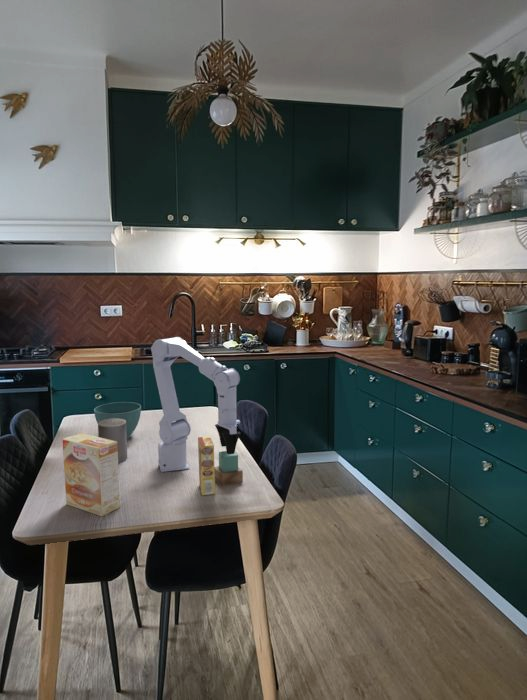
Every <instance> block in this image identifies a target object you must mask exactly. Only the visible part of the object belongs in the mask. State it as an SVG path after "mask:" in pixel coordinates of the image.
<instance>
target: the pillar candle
mask: <svg viewBox="0 0 527 700" xmlns="http://www.w3.org/2000/svg"><path fill="white" fill-rule="evenodd" d="M97 433H98V434H97V437H100V438H104V439H108V440H112V441H117V449H118V464H120V463H122V462H125V461H126V460H127V458H128V441H127V440H128V438H127V435H126V420H123V419H117V418H113V419H112V418H111V419H105V420H102V421H100V422H99V423H97Z"/></svg>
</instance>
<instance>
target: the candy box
mask: <svg viewBox="0 0 527 700" xmlns="http://www.w3.org/2000/svg"><path fill="white" fill-rule="evenodd" d="M197 449H198V451H197V452H198V453H197V455H198V477H199V479H198V481H199V487H200V493H201V495H202V496H209V495H215V494H216V480H215V469H214V467H215V445H214V443H213V440H212V437H211V436H201V437H200V436H198V438H197Z"/></svg>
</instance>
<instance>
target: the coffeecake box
mask: <svg viewBox="0 0 527 700" xmlns="http://www.w3.org/2000/svg"><path fill="white" fill-rule="evenodd" d="M61 440H62V451H63V469H64V484H65V485H64V486H65V504H66V505H67V506H70V507H73V508H76V509H79V510H82V511H84V512H88V513H91V514H92V515H96V516H99V517H104V516H105V515H107V514H109V513H111V512H113V511H116V510H117V509H120V508H121V499H120V496H121V494H120V476H119V472H120V471H119V463H118V449H117V441H112V440H108V439H104V438H100V437H98V436H96V435H92V434H88V433H83V432H80V433H78V434H73V435H70V436H67V437H64V438H62V439H61Z"/></svg>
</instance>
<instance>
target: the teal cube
mask: <svg viewBox="0 0 527 700" xmlns="http://www.w3.org/2000/svg"><path fill="white" fill-rule="evenodd" d="M218 466H219V468H220V469H221V471H222V472H230V471H238V467H239V455H238V453H237V452H236V451H235V452H234V454H227V451H226V450H223V451H222V450H221V451H218Z"/></svg>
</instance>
